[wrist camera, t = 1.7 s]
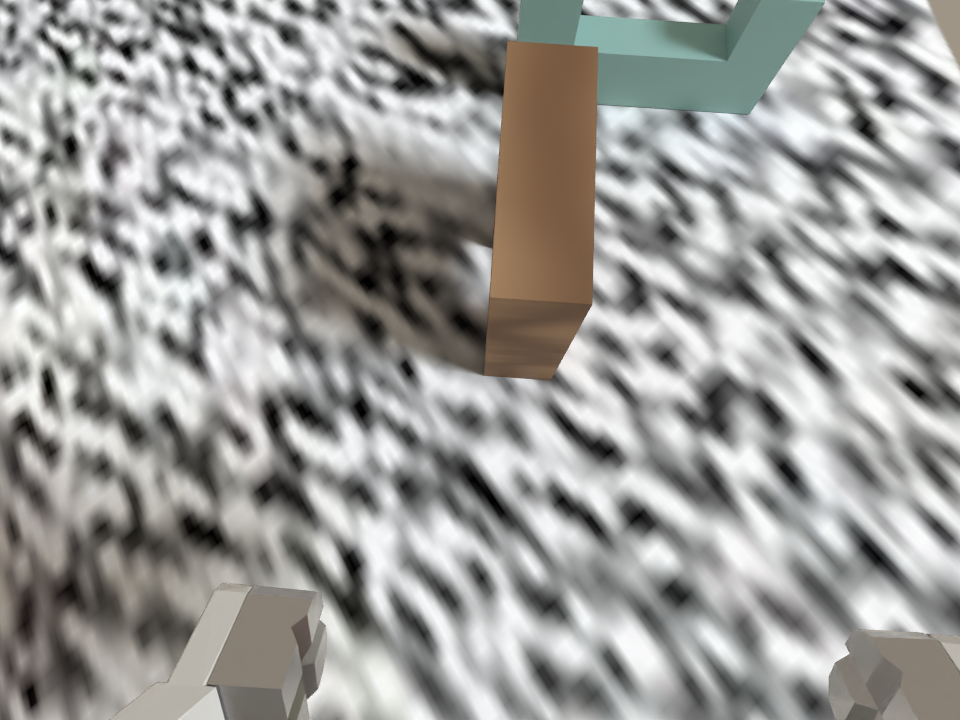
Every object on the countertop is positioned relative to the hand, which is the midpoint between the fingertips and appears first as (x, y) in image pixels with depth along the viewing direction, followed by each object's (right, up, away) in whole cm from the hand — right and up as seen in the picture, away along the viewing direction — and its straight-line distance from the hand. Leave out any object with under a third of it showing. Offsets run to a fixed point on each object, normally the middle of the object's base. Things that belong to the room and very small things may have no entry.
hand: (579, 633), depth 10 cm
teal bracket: (+6, +18, +22) cm, 29 cm away
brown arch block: (0, +8, +19) cm, 21 cm away
